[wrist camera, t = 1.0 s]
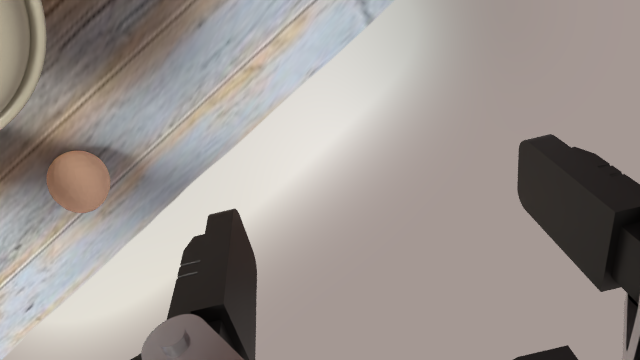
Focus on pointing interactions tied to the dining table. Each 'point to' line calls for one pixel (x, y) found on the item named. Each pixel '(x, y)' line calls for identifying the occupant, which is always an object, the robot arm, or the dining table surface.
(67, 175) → the egg
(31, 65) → the canister
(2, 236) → the dining table surface
